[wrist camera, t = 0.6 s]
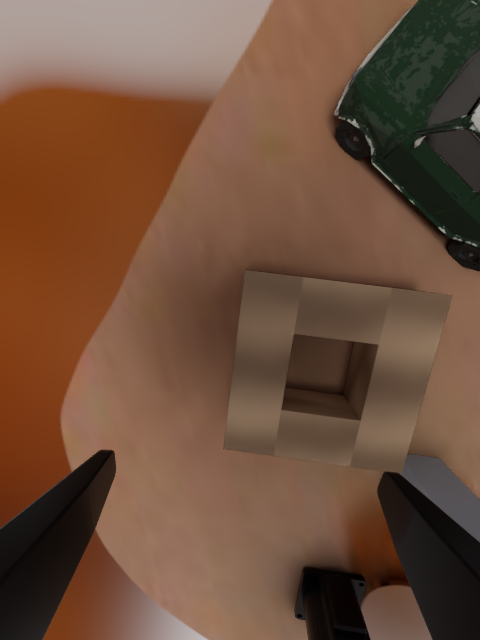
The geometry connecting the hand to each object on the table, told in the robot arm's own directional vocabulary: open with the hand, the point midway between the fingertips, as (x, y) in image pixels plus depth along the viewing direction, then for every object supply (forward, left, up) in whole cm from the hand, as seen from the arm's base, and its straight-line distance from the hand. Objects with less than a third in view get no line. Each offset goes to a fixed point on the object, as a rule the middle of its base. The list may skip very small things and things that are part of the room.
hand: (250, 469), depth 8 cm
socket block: (-1, -6, -14) cm, 16 cm away
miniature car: (+16, -13, -15) cm, 25 cm away
